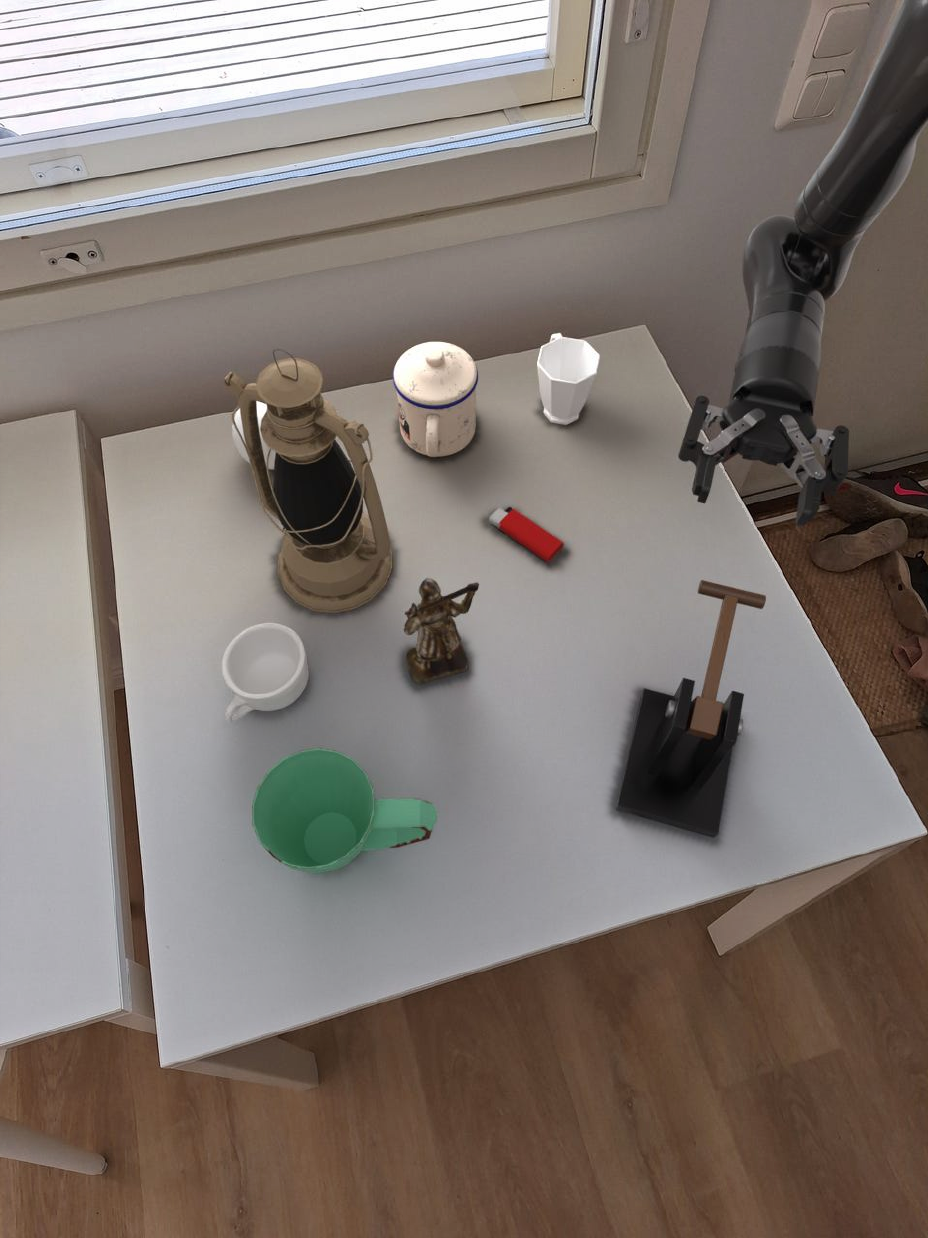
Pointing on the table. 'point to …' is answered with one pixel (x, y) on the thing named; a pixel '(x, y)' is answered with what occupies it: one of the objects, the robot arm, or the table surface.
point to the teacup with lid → (436, 398)
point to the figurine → (437, 632)
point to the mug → (331, 813)
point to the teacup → (264, 669)
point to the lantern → (315, 488)
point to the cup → (565, 377)
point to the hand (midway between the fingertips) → (753, 508)
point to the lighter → (526, 533)
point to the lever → (717, 657)
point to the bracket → (678, 762)
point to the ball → (240, 447)
